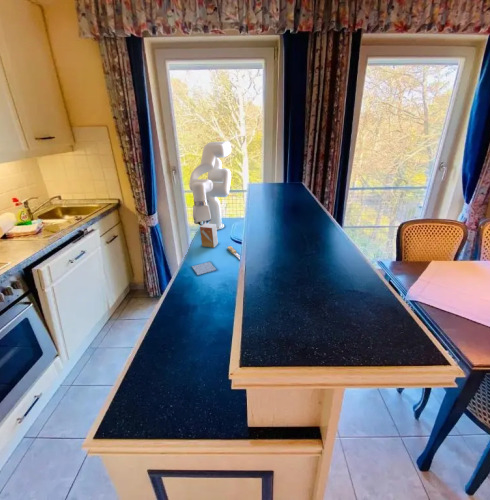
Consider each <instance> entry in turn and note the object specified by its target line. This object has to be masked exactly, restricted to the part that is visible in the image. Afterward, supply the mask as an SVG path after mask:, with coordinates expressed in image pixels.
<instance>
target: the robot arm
mask: <svg viewBox="0 0 490 500" xmlns="http://www.w3.org/2000/svg"><path fill="white" fill-rule="evenodd" d="M231 151H232V145H231V143H230V142H229V141H210V142H207V143H206V144H205V145H204V147H203V149H202V153H201V160H200V164H198V165H196V167H195V168H194V169H193V170H192V172H191V174H190V179H189V185H188V186H189V190H190V191H191V192H192V197H193V205H192V218H193V224H194V225H199V227H200V226H202V225H203V224H204V223H206V224H216V228H217V231H219V230H222V229H224V228H225V224H224V223H223V221H222V209H221V202H220V200H219V198H227V197H229V194H230V189H231V183H232V172H231V170H230V169H229V168H226V167H222V166H223V162H222V161H221V159H223V158H226V157H228V156H229V155H230V154H231ZM204 174H207V178H205V179H204V178H203V179H202V178H200V177H201V176H202V175H204Z"/></svg>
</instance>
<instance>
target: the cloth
mask: <svg viewBox="0 0 490 500" xmlns="http://www.w3.org/2000/svg"><path fill="white" fill-rule="evenodd" d="M191 268H192V269H193V271H194V272H195V274H196V275H197V276H200V275H204V274H208V273H211V272H215V271H217V269H216V267H215V266H214V265H213V264H212V262H211V261H207V262H203V263H199V264H196V265H192V266H191Z"/></svg>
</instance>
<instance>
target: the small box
mask: <svg viewBox="0 0 490 500" xmlns="http://www.w3.org/2000/svg"><path fill="white" fill-rule="evenodd" d="M202 224H203V223H202ZM199 232H200V239H201V240H200V241H201V247H205V248H213V249H214V248H215V247H216V246H217V245H218V244H219V241H218V240H219V239H218V230H217V228H216V224H208V223H207V224H206V223H204V224H203V225H202V226H200V225H199Z"/></svg>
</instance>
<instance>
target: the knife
mask: <svg viewBox="0 0 490 500" xmlns="http://www.w3.org/2000/svg"><path fill="white" fill-rule="evenodd" d="M227 250H228V251H229V252H230V253H231V254H232V255H233V256H234V257H236V258H237V259H238V260H239V261H241V260H240V256H241V255H240V254H239V253H238V252H237V250H236V249H235V248H234V247H233V246H231V245H228V246H227Z"/></svg>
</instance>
